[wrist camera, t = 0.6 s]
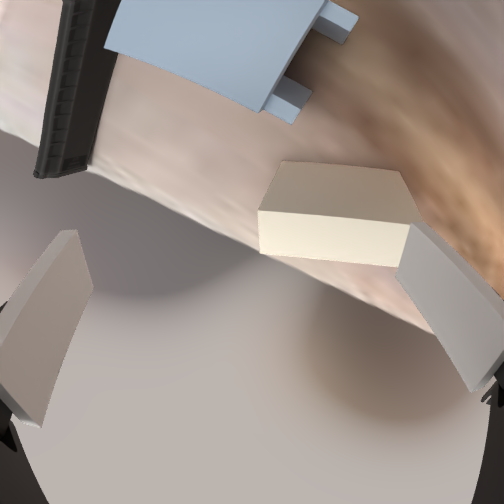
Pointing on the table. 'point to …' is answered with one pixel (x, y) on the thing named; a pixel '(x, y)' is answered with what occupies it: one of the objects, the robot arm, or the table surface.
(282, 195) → the tile
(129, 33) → the housing
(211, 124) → the table surface
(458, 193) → the table surface
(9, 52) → the table surface
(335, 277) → the table surface
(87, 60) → the magazine
